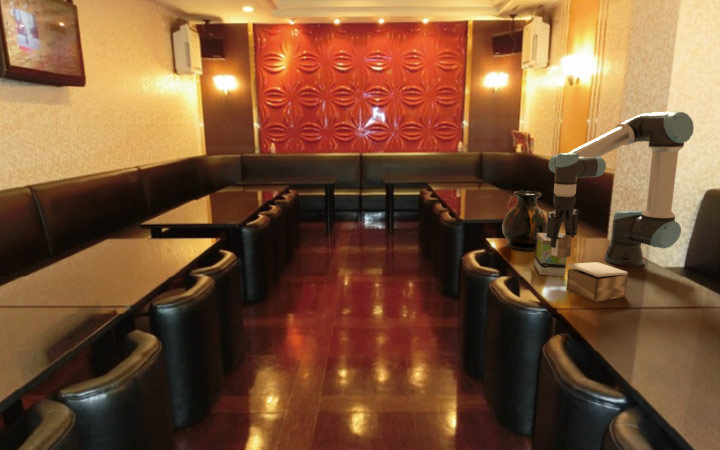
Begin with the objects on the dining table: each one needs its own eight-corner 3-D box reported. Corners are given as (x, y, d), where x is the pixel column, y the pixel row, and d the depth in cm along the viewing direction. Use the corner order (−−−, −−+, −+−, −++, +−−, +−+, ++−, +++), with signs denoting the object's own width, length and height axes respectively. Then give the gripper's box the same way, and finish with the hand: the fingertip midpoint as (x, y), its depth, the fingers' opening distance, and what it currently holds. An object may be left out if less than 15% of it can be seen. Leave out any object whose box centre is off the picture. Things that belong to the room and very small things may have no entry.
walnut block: (560, 253, 178) (561, 233, 177) (570, 256, 174) (571, 236, 172) (550, 254, 177) (551, 234, 175) (560, 258, 172) (561, 237, 170)
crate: (595, 285, 174) (597, 265, 172) (625, 296, 162) (627, 275, 160) (566, 289, 169) (568, 269, 167) (595, 302, 157) (597, 280, 155)
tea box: (565, 276, 184) (569, 241, 181) (539, 275, 186) (542, 240, 183) (557, 265, 198) (560, 232, 195) (533, 264, 200) (535, 231, 197)
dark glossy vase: (541, 256, 213) (546, 197, 207) (495, 249, 224) (498, 193, 218) (550, 246, 230) (555, 191, 224) (507, 240, 242) (511, 188, 236)
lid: (597, 264, 172) (597, 262, 172) (627, 274, 160) (627, 272, 160) (568, 266, 167) (568, 263, 167) (597, 276, 155) (597, 274, 155)
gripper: (575, 191, 177) (571, 249, 182) (537, 195, 171) (534, 255, 176) (591, 194, 170) (586, 254, 175) (552, 198, 164) (548, 260, 169)
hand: (560, 254), depth 175 cm, fingers closed on walnut block, 5 cm apart
